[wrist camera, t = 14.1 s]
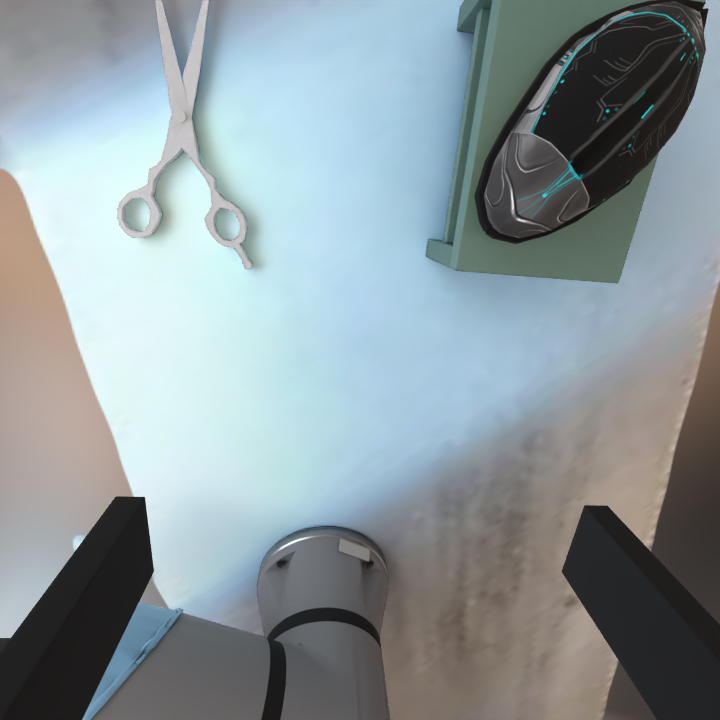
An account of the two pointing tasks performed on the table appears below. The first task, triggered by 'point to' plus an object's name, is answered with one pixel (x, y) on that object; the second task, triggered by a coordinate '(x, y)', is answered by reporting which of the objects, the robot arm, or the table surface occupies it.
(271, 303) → the table surface
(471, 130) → the desk shelf
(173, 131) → the scissors
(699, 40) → the computer mouse
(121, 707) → the robot arm
